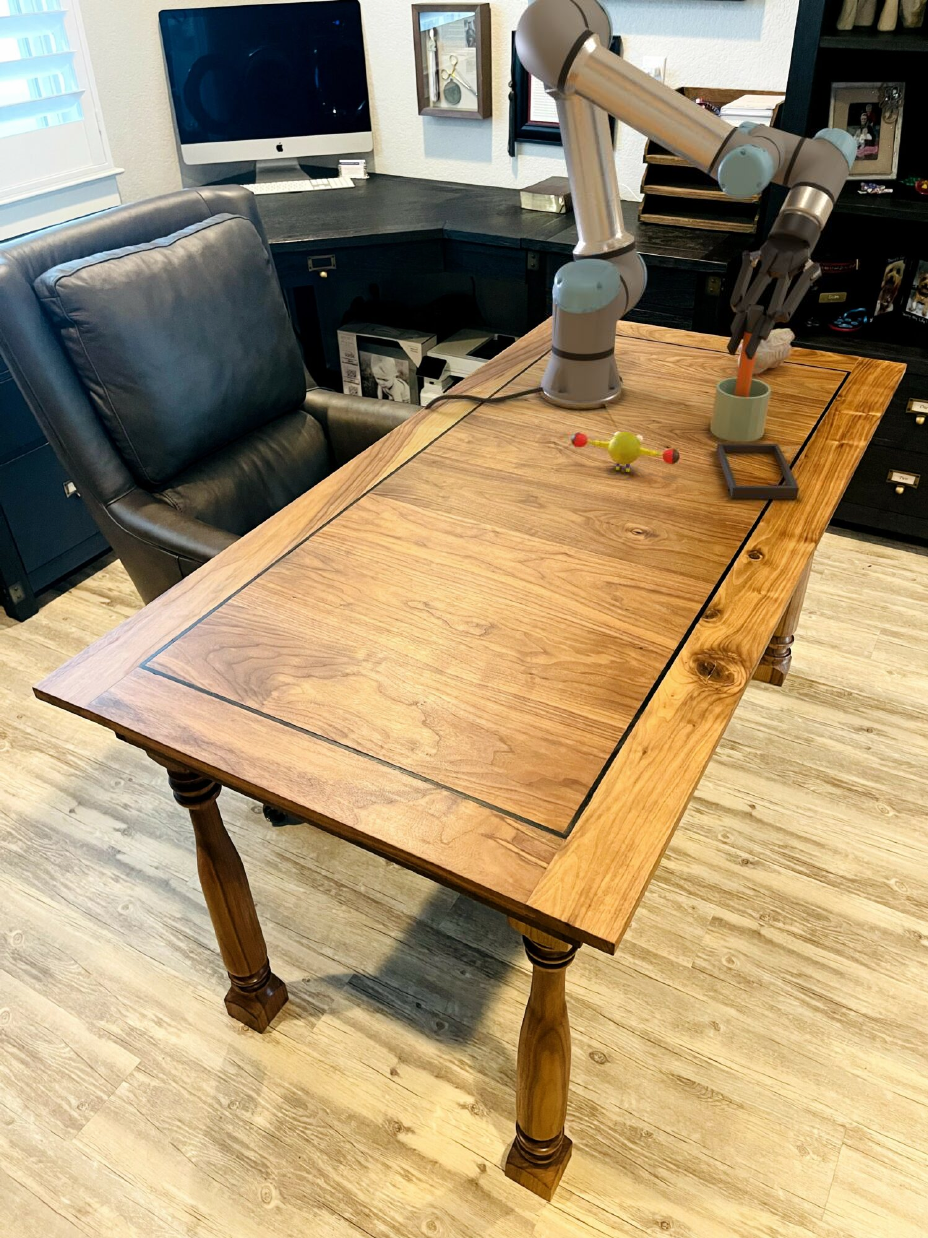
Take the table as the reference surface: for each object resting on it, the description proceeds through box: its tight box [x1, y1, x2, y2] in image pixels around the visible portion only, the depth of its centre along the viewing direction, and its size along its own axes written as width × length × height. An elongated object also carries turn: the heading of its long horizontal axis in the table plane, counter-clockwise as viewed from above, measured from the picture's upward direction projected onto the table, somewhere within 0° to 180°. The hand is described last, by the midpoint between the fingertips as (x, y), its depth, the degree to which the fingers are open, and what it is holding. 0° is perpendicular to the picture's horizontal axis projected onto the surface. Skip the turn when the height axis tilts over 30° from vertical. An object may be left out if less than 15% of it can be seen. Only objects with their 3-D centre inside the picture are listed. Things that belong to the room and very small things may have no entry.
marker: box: [734, 304, 765, 397], centre depth 160 cm, size 2×2×17 cm
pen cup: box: [709, 376, 772, 443], centre depth 166 cm, size 9×9×8 cm
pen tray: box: [716, 443, 800, 500], centre depth 155 cm, size 15×10×2 cm, turn 177°
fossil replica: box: [737, 328, 796, 375], centre depth 189 cm, size 12×8×10 cm
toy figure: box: [570, 431, 681, 474], centre depth 156 cm, size 18×6×7 cm, turn 65°
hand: (739, 353), depth 156 cm, fingers closed on marker, 2 cm apart
